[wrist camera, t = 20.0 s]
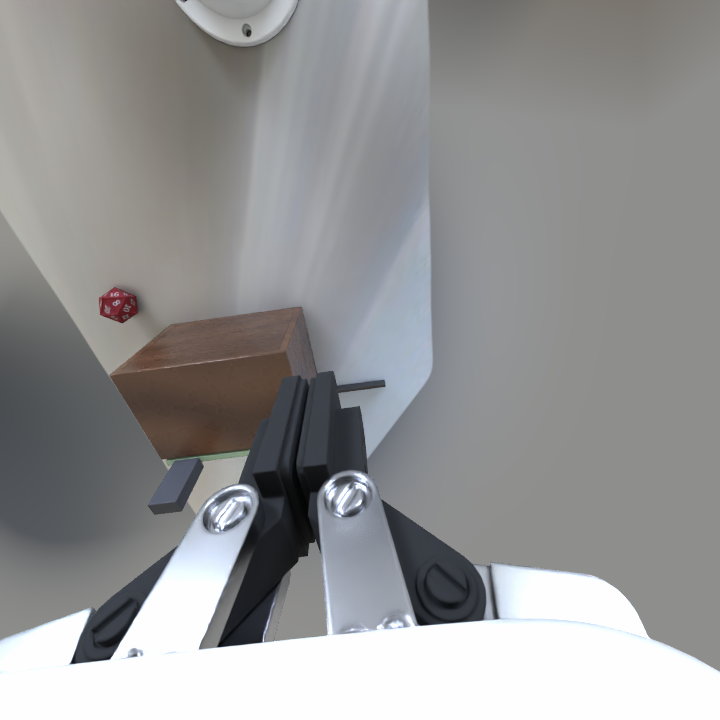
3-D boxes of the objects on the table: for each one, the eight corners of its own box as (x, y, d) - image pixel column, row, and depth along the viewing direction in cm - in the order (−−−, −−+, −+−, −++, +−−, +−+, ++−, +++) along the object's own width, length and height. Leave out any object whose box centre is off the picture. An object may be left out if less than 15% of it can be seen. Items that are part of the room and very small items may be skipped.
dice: (110, 279, 40) (88, 289, 36) (148, 294, 41) (130, 305, 37) (108, 305, 41) (86, 317, 38) (144, 319, 42) (126, 331, 39)
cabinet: (171, 324, 43) (108, 375, 31) (375, 296, 42) (386, 338, 31) (208, 405, 50) (168, 471, 38) (384, 382, 49) (396, 442, 38)
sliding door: (206, 398, 48) (136, 506, 32) (316, 383, 48) (301, 485, 32) (209, 406, 49) (143, 516, 33) (318, 392, 49) (305, 496, 33)
